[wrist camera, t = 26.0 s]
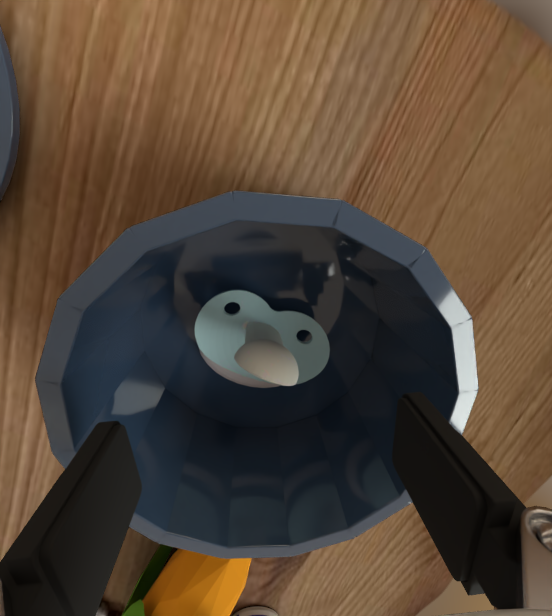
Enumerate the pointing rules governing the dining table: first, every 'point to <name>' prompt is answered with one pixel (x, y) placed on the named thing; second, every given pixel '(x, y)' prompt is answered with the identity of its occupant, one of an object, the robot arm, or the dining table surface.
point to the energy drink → (256, 612)
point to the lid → (8, 117)
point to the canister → (253, 400)
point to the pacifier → (259, 342)
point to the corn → (188, 585)
